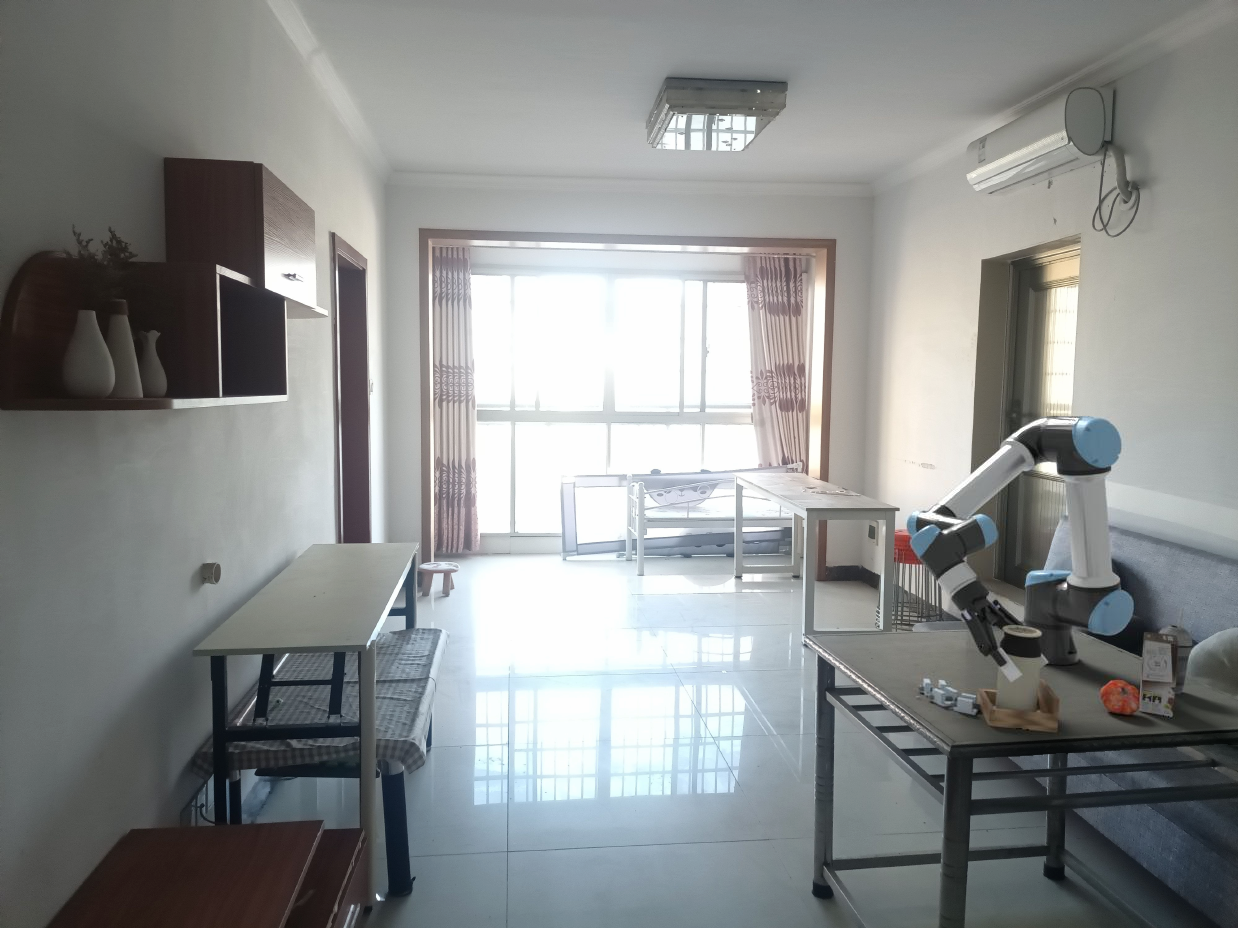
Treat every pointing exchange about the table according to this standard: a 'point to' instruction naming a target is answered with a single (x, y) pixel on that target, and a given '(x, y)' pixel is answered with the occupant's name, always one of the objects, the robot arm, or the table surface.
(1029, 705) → the travel mug
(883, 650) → the table surface
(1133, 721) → the table surface
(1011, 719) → the wooden tray
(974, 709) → the cable route
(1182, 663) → the beverage cup
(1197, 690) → the table surface
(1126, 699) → the pomegranate
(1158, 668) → the coffee box
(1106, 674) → the table surface
